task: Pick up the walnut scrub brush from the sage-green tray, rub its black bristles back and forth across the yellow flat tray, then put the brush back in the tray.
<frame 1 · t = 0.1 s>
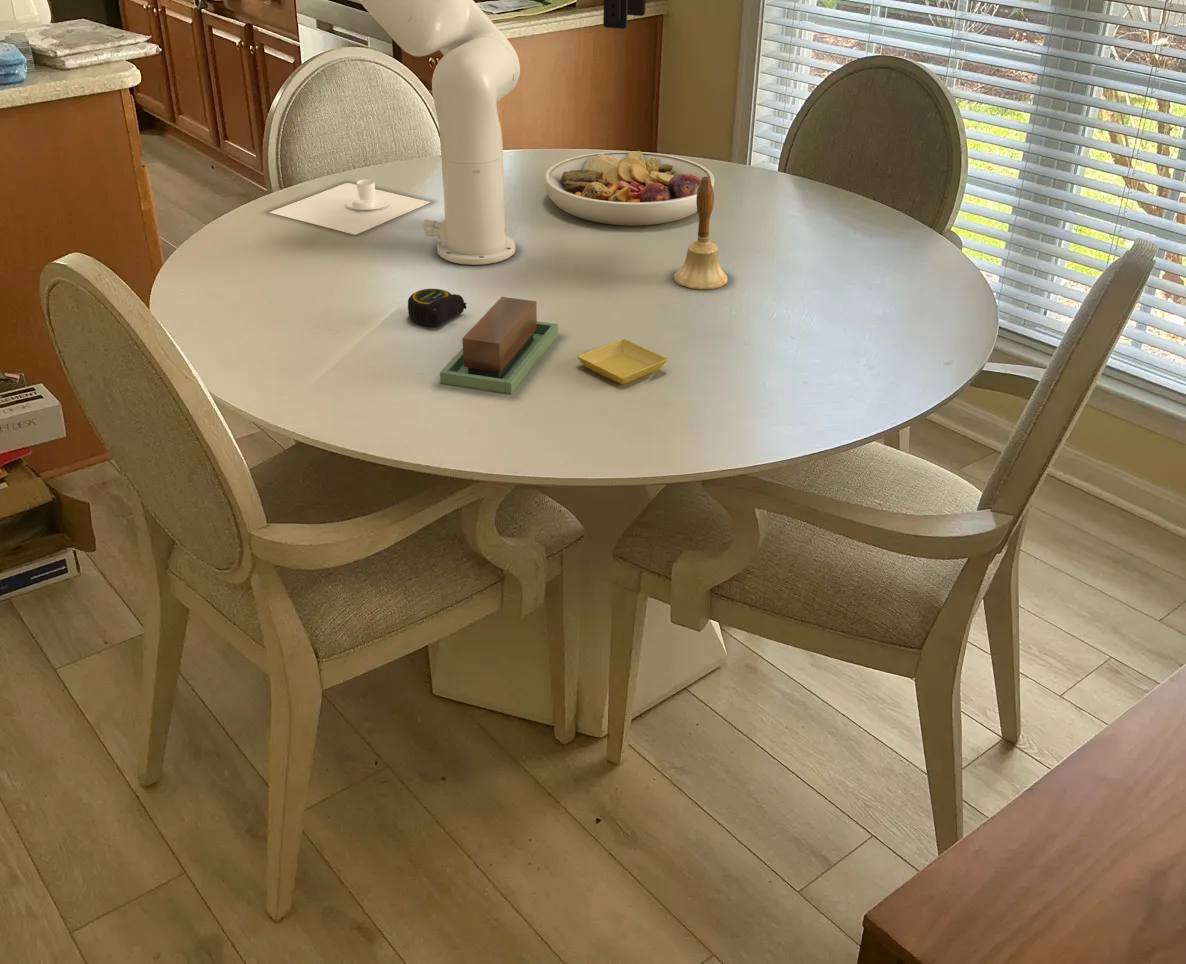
hand: (624, 21, 162), 37 cm above the table, tool pointing down, fingers open, 9 cm apart
hand bell: (700, 280, 178), on the table
tape measure: (438, 322, 164), on the table
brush: (501, 357, 153), resting on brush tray
yellow flat tray: (622, 372, 151), on the table
teacup and saucer: (351, 208, 205), on the table
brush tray: (502, 360, 153), on the table
bowl: (628, 204, 208), on the table
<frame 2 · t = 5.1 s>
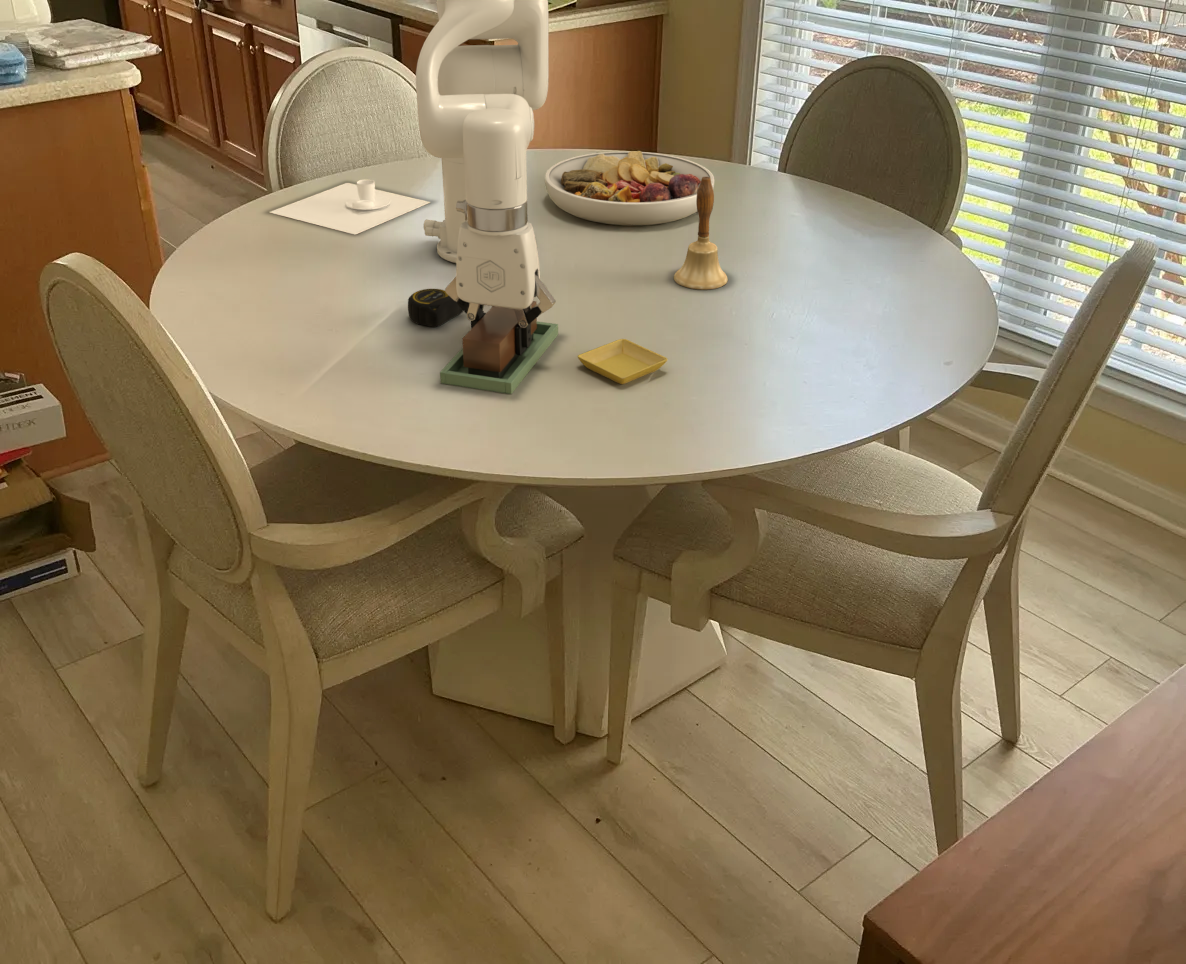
hand: (501, 346, 152), 2 cm above the table, tool pointing down, fingers closed on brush, 5 cm apart
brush: (501, 357, 153), point 1 cm above the table, touching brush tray, gripper
everything else where it was.
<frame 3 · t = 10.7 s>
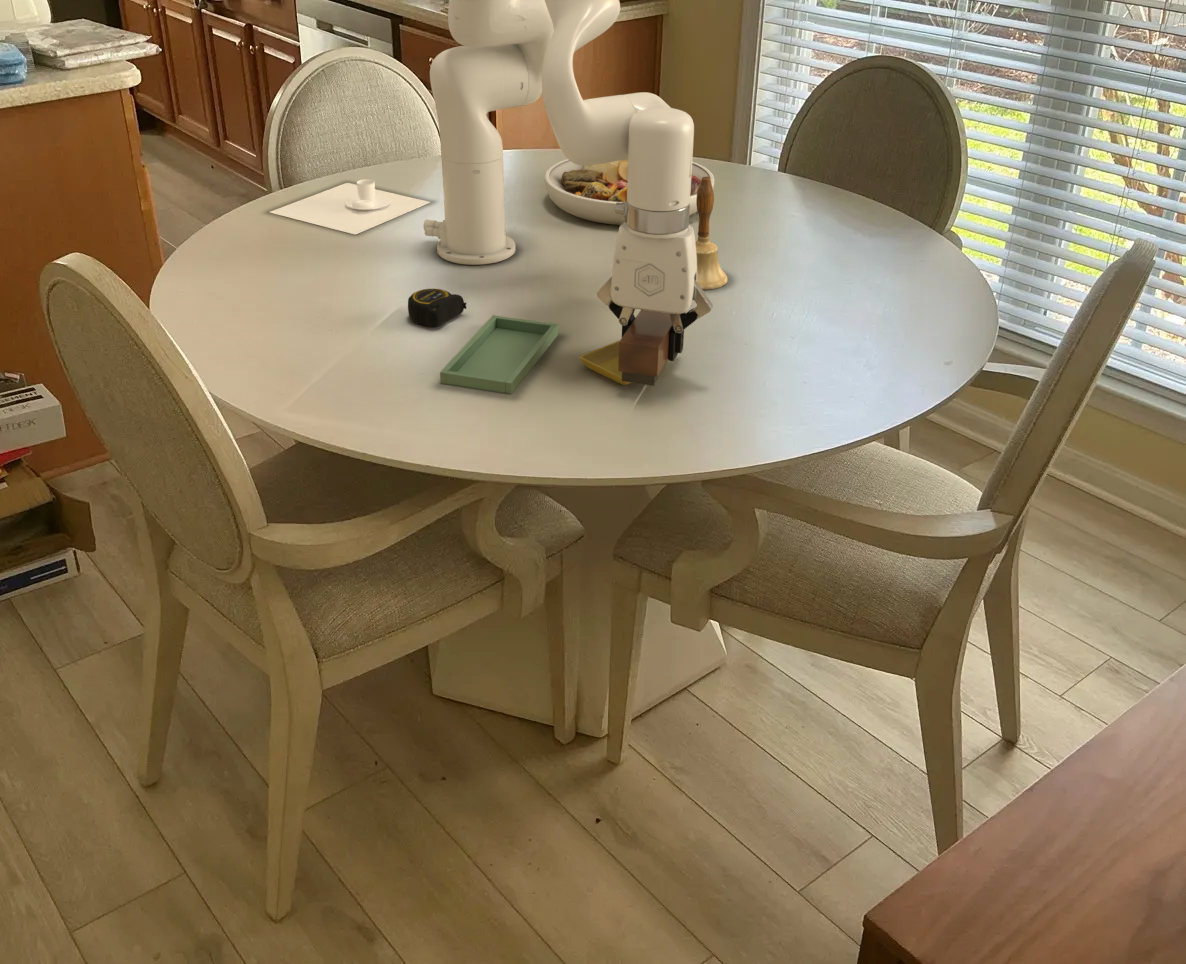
hand: (652, 352, 148), 3 cm above the table, tool pointing down, fingers closed on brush, 5 cm apart
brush: (651, 361, 149), point 2 cm above the table, touching gripper
everything else where it was.
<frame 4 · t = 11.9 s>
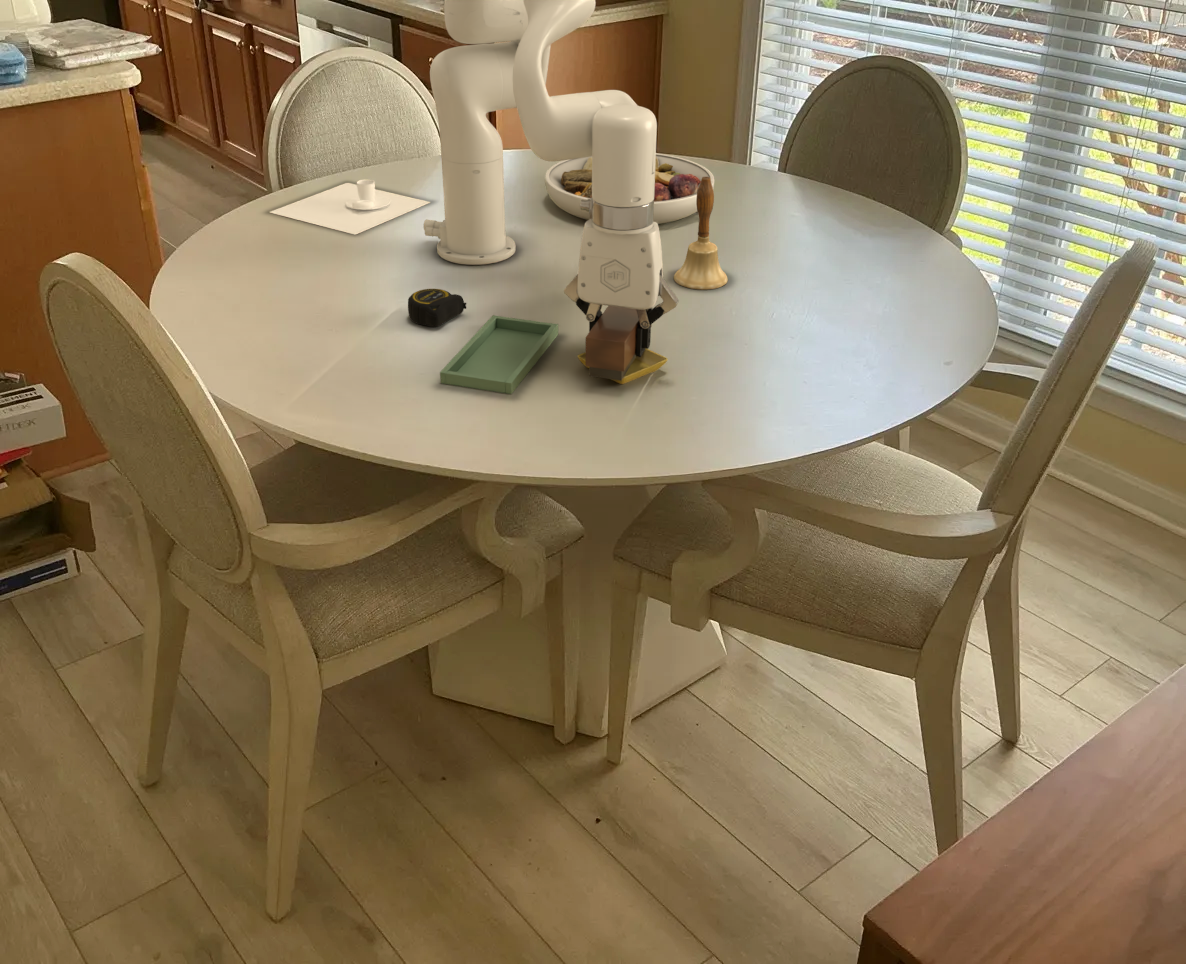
hand: (619, 348, 149), 3 cm above the table, tool pointing down, fingers closed on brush, 5 cm apart
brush: (619, 356, 150), point 2 cm above the table, touching gripper
everything else where it was.
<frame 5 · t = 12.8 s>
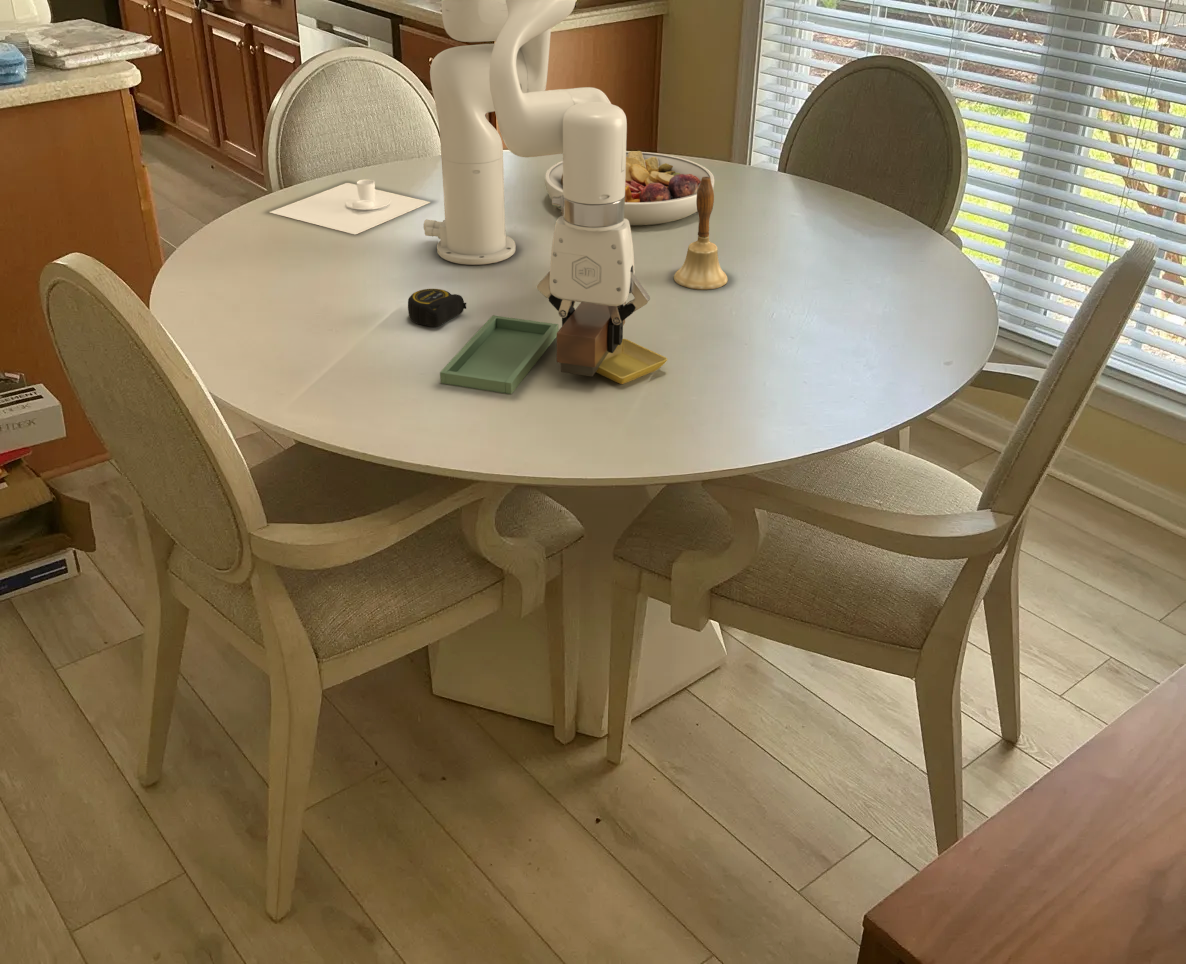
hand: (592, 344, 150), 3 cm above the table, tool pointing down, fingers closed on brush, 5 cm apart
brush: (592, 352, 151), point 2 cm above the table, touching gripper
everything else where it was.
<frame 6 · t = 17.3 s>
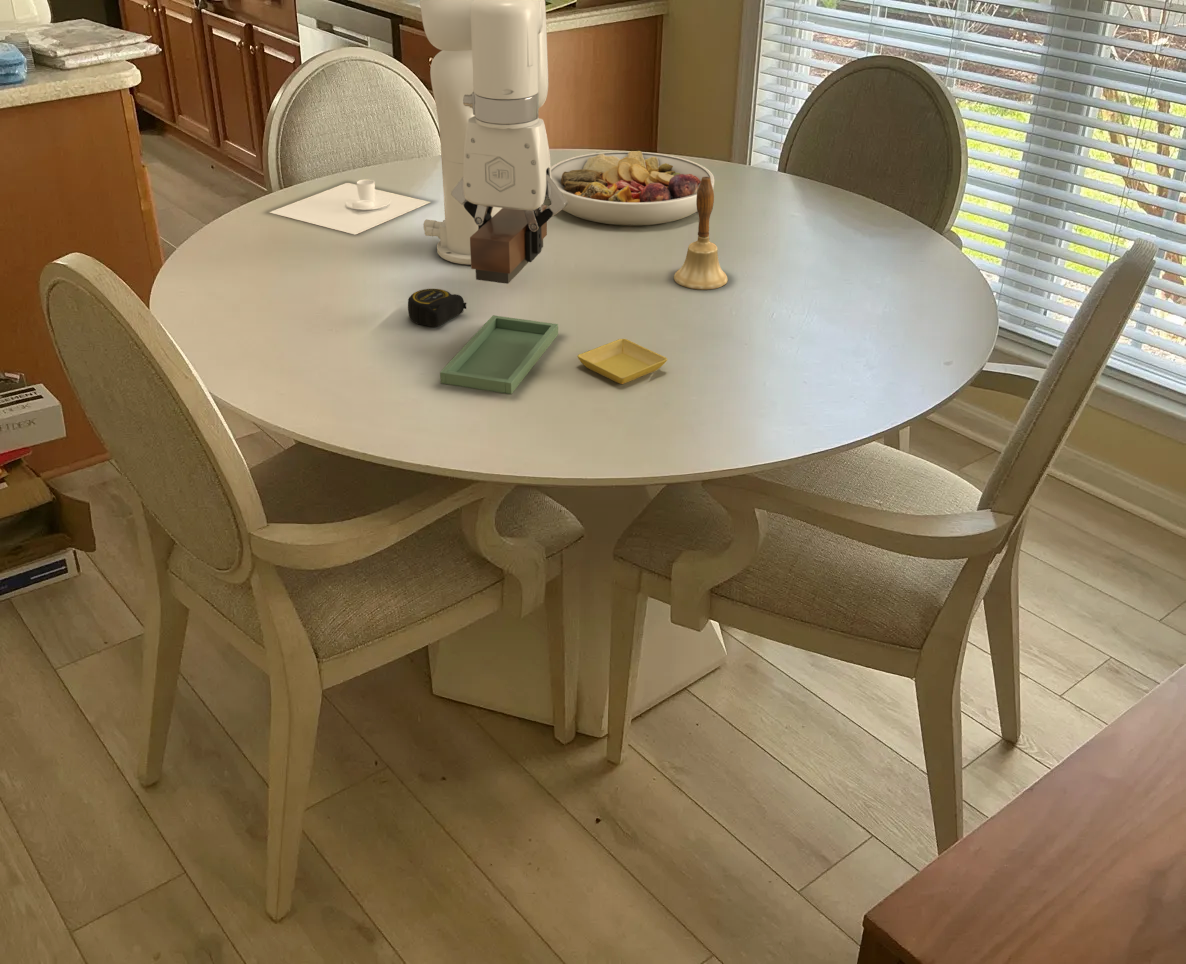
hand: (510, 254, 145), 15 cm above the table, tool pointing down, fingers closed on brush, 5 cm apart
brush: (510, 262, 146), point 14 cm above the table, touching gripper
everything else where it was.
when the fingers open (2 cm above the table, at t = 21.3 s): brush stays where it is, resting on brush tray.
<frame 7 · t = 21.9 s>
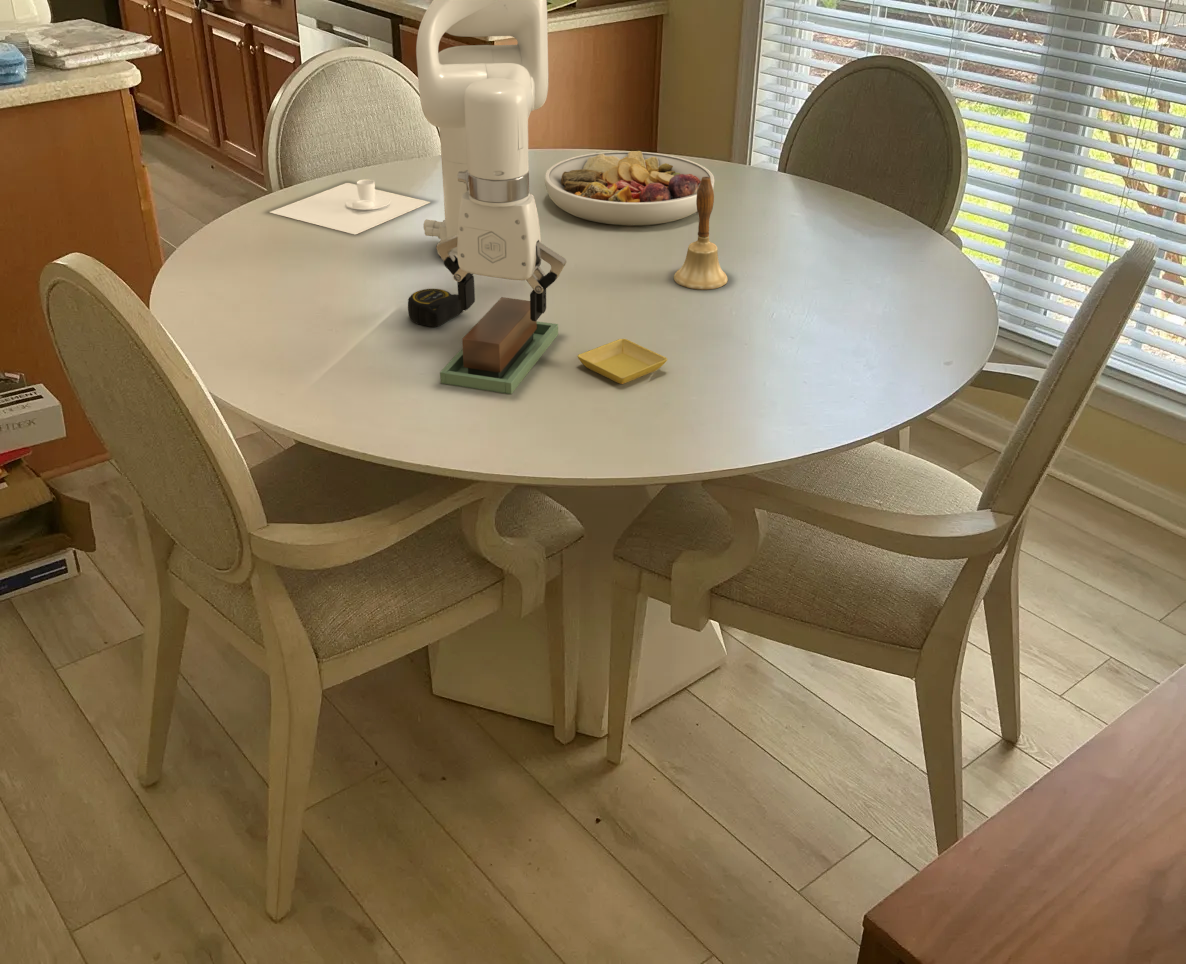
hand: (502, 311, 152), 6 cm above the table, tool pointing down, fingers open, 9 cm apart
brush: (501, 357, 153), resting on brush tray
everything else where it was.
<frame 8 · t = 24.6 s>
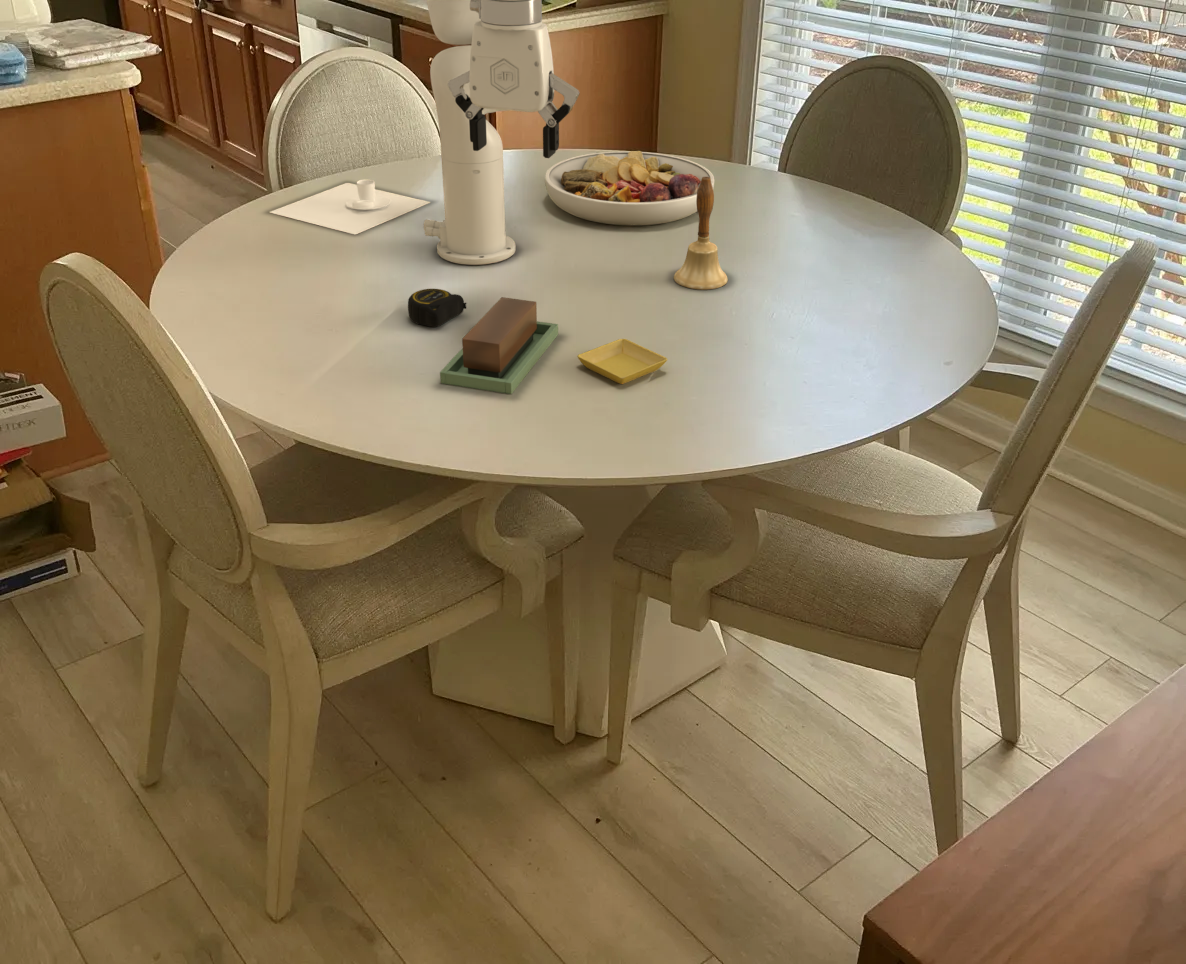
hand: (514, 151, 151), 24 cm above the table, tool pointing down, fingers open, 9 cm apart
nothing on the table moved.
at the end: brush inside the target area in the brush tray (0.1 cm from its centre), point 0.5 cm above the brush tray's base; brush tilted 0°; yellow flat tray moved 0.2 cm from its start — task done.
